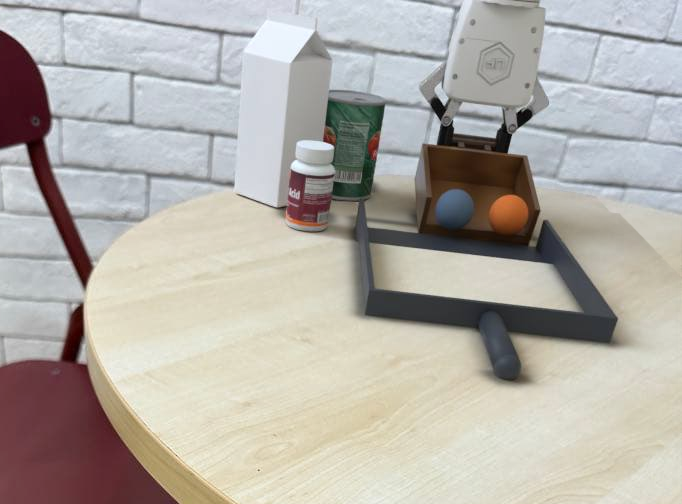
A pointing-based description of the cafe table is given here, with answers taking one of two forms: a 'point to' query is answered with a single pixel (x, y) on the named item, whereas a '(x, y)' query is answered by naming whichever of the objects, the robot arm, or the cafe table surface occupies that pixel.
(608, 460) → the cafe table surface
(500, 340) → the grey frame with handle
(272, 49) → the milk carton
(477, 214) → the drawer
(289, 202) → the pill bottle
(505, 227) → the orange ball
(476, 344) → the cafe table surface
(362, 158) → the canned tomato
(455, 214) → the blue ball
